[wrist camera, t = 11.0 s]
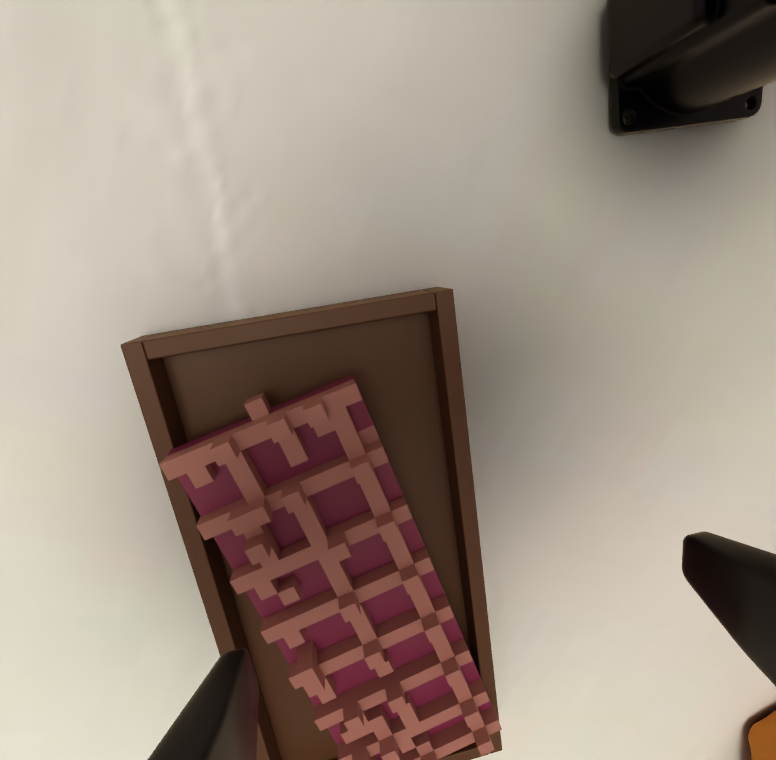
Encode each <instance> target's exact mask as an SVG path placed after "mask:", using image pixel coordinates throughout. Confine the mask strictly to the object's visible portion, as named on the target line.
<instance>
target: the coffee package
mask: <svg viewBox="0 0 776 760" xmlns="http://www.w3.org/2000/svg"><path fill="white" fill-rule="evenodd" d="M748 741H749V744H750V749H751V756H752V760H776V710H775V711H773V712H772V713H771V714H769V715H768V716H767V717H766V718H764V719H762V720H760V721H758V722H756V723H755V724H753V726H752V727H751V729H750V732H749V735H748Z"/></svg>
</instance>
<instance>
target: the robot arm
mask: <svg viewBox="0 0 776 760" xmlns="http://www.w3.org/2000/svg"><path fill="white" fill-rule="evenodd" d="M609 72H610V92H611V127H612V129H613V131H614V132H615V133H616V134H618V135H628V134H635V133H643V132H651V131H658V130H666V129H674V128H682V127H689V126H697V125H705V124H712V123H720V122H728V121H736V120H742V119H745V118H748V117H750V116H753V115H755V114H756V113H757V112H758V110H759V109H760V106H761V102H762V89H763V86H764V85H767V84H769V83H772V82H774V81H776V0H609ZM746 102H747V108H746V105H745V103H746ZM624 115H626V117H627V119H628V123H627V125H626V124H625V123H624V121H623V117H624ZM682 570H683V574H684V576H685V578H686V580H687V581H688V583H689V584H690V585H691V586H692V588H693V589H694V590H695V591H696V593H697V594H698V595H699V596H700V598H701V599H702V600H703V601H704V603H705V604H706V605H707V606H708V608H709V609H710V610H711V611H712V613H713V614H714V615H715V616H716V618H717V619H718V620H719V621H720V623H721V624H722V625H723V626H724V628H725V629H726V630H727V631H728V633H729V634H730V635H731V636H732V638H733V639H734V640H735V641H736V643H737V644H738V645H739V646H740V647H741V649H742V650H743V651H744V652H745V653H746V654H747V656H748V657H749V658H750V659H751V660H752V661H753V662H754V663H755V664H756V666H757V667H758V668H759V669H760V670H761V671H762V672H763V673H764V674H765V675H766V676H767V677H768V678H769V679H770V681H771V682H772V683H773V684H774V685H775V686H776V554H773V553H770V552H767V551H764V550H761V549H758V548H755V547H752V546H749V545H746V544H742V543H739V542H736V541H733V540H730V539H727V538H724V537H721V536H718V535H715V534H712V533H709V532H699V533H695V534H691V535H687V536H686V537H685V538H684V540H683V554H682ZM258 704H259V687H258V680H257V677H256V674H255V671H254V668H253V665H252V661H251V658H250V655H249V652H248V651H247V649H245V648H240V649H236V650H232V651H228V652H225V653H224V654H223V655H222V656H221V657H220V658H219V659H218V661H217V662H216V664H215V665H214V667H213V668H212V669H211V671H210V672H209V674H208V675H207V676H206V678H205V679H204V681H203V682H202V684H201V685H200V686H199V688H198V689H197V691H196V692H195V693H194V695H193V696H192V698H191V699H190V701H189V702H188V703H187V705H186V706H185V708H184V709H183V710H182V712H181V713H180V715H179V716H178V718H177V719H176V720H175V722H174V723H173V725H172V726H171V727H170V729H169V730H168V732H167V733H166V735H165V736H164V737H163V739H162V740H161V742H160V743H159V744H158V746H157V747H156V749H155V750H154V751H153V753H152V754H151V756H150V757H149V759H148V760H256V757H257V730H258Z"/></svg>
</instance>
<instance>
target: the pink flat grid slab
mask: <svg viewBox="0 0 776 760" xmlns="http://www.w3.org/2000/svg"><path fill="white" fill-rule="evenodd" d="M244 406H245V408H246V410H247V412H248V413H249V415H250V417H249V418H246V419H244V420H241V421H239V422H236V423H234V424H232V425H229V426H227V427H224V428H222V429H220V430H217V431H215V432H212V433H210V434H207V435H205V436H203V437H200V438H198V439H195V440H193V441H191V442H188V443H186V444H183V445H181V446H179V447H176V448H174V449H171V450H170V452H169V453H168V454H167V455H166V457H165V458H164V459H163V461H162V462H161V463H160V464H159V466H160V467H161V469H162V471H163V472H164V474H165V476H166V477H167V479H168V481H169V480H172V479H174V478H177V477H178V479H179V481H180V482H181V484H182V486H183V487H184V489H185V491H186V492H187V494H188V496H189V497H190V499H191V501H192V502H193V504H194V506H195V507H196V509H197V511H198V512H199V514H200V516H201V517H200V519H199V521H198V523H197V525H196V527H197V528H198V530H199V532H200V533H201V535H202V537H203V538H204V540H207V539H210V538H212V537H213V538H214V539H215V541H216V543H217V544H218V546H219V548H220V549H221V551H222V553H223V554H224V556H225V558H226V559H227V561H228V563H229V564H230V566H231V568H232V569H233V572H232V575H231V579H230V583H231V584H232V586H233V588H234V589H235V591H236V593H237V594H241V593H243V592H245V591H246V593H247V594H248V596H249V598H250V599H251V601H252V603H253V604H254V606H255V608H256V609H257V611H258V613H259V615H260V616H261V618H262V625H261V634H262V636H263V637H264V639H265V641H266V642H267V644H269V643H272V642H274V641H276V643H277V645H278V646H279V648H280V650H281V651H282V653H283V655H284V656H285V658H286V660H287V661H288V663H289V680H290V682H291V683H292V685H293V687H294V688H295V689H297V688H300V687H302V686H303V688H304V690H305V691H306V693H307V695H308V697H309V698H310V700H311V702H312V703H313V705H314V721H315V723H316V725H317V726H318V728H319V730H320V731H322V730H324V729H326V728H328V730H329V732H330V733H331V735H332V737H333V738H334V740H335V742H336V743H337V748H338V760H438V759H440V758H442V757H444V756H446V755H448V754H451V753H453V752H455V751H457V750H459V749H461V748H463V747H465V746H467V745H470V744H472V743H474V742H476V745H477V747H478V750H479V752H480V754H481V756H483V755H485V754H487V753H489V752H491V751H494V747H493V744H492V742H491V739H490V736H489V735H491V734H493V733H495V732H497V731H499V730H501V726H500V724H499V721H498V719H497V716H496V714H495V711H494V709H493V707H492V704H491V702H490V699H489V697H488V695H487V692H486V690H485V687H484V685H483V683H482V680H481V678H480V676H479V673H478V671H477V668H476V666H475V664H474V661H473V659H472V657H471V654H470V652H469V649H468V647H467V645H466V642H465V640H464V638H463V635H462V633H461V631H460V628H459V626H458V623H457V621H456V619H455V616H454V614H453V612H452V609H451V607H450V604H449V602H448V600H447V597H446V595H445V593H444V590H443V588H442V585H441V583H440V581H439V578H438V576H437V574H436V571H435V569H434V567H433V564H432V562H431V559H430V557H429V555H428V552H427V550H426V548H425V545H424V543H423V540H422V538H421V536H420V533H419V531H418V529H417V526H416V524H415V522H414V519H413V517H412V514H411V512H410V510H409V507H408V505H407V503H406V500H405V498H404V495H403V493H402V491H401V488H400V486H399V484H398V481H397V479H396V476H395V474H394V472H393V469H392V467H391V465H390V462H389V460H388V458H387V455H386V453H385V450H384V448H383V446H382V443H381V441H380V439H379V436H378V434H377V431H376V429H375V427H374V424H373V422H372V420H371V417H370V415H369V412H368V410H367V408H366V405H365V403H364V401H363V398H362V396H361V394H360V391H359V389H358V386H357V384H356V382H355V379H354V377H353V375H350V376H347V377H345V378H343V379H340V380H338V381H335V382H333V383H331V384H328V385H326V386H323V387H321V388H319V389H316V390H314V391H311V392H309V393H306V394H304V395H302V396H299V397H297V398H294V399H292V400H290V401H287V402H285V403H282V404H280V405H277V406H275V407H273V408H271V407H270V405H269V403H268V401H267V399H266V397H265V395H264V393H261V394H259V395H257V396H254V397H252V398H249V399H247V400H246V402H245V404H244Z"/></svg>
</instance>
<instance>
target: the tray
mask: <svg viewBox="0 0 776 760" xmlns="http://www.w3.org/2000/svg"><path fill="white" fill-rule="evenodd" d="M121 348H122V351H123V354H124V357H125V361H126V364H127V367H128V370H129V373H130V376H131V379H132V382H133V385H134V389H135V392H136V395H137V398H138V401H139V404H140V407H141V410H142V413H143V417H144V420H145V423H146V426H147V429H148V432H149V435H150V438H151V441H152V445H153V448H154V451H155V454H156V457H157V460H158V463H159V464H160V463H161V462H162V461H163V459H164V458H165V457H166V455H167V454H168V453H169V452H170V450H171V449H174V448H176V447H179V446H181V445H183V444H186V443H188V442H191V441H193V440H195V439H198V438H200V437H203V436H205V435H207V434H210V433H212V432H215V431H217V430H220V429H222V428H224V427H227V426H229V425H232V424H234V423H236V422H239V421H241V420H244V419H246V418H249V417H250V415H249V413H248V412H247V410H246V408H245V406H244V404H245V402H246V400H247V399H249V398H252V397H254V396H257V395H259V394H261V393H264V395H265V397H266V399H267V401H268V403H269V405H270V407H271V408H273V407H275V406H277V405H280V404H282V403H285V402H287V401H290V400H292V399H294V398H297V397H299V396H302V395H304V394H306V393H309V392H311V391H314V390H316V389H319V388H321V387H323V386H326V385H328V384H331V383H333V382H335V381H338V380H340V379H343V378H345V377H347V376H350V375H353V377H354V379H355V382H356V384H357V386H358V389H359V391H360V394H361V396H362V398H363V401H364V403H365V405H366V408H367V410H368V412H369V415H370V417H371V420H372V422H373V424H374V427H375V429H376V431H377V434H378V436H379V439H380V441H381V443H382V446H383V448H384V450H385V453H386V455H387V458H388V460H389V462H390V465H391V467H392V469H393V472H394V474H395V476H396V479H397V481H398V484H399V486H400V488H401V491H402V493H403V495H404V498H405V500H406V503H407V505H408V507H409V510H410V512H411V514H412V517H413V519H414V522H415V524H416V526H417V529H418V531H419V533H420V536H421V538H422V540H423V543H424V545H425V548H426V550H427V552H428V555H429V557H430V559H431V562H432V564H433V567H434V569H435V571H436V574H437V576H438V578H439V581H440V583H441V585H442V588H443V590H444V593H445V595H446V597H447V600H448V602H449V604H450V607H451V609H452V612H453V614H454V616H455V619H456V621H457V623H458V626H459V628H460V631H461V633H462V635H463V638H464V640H465V642H466V645H467V647H468V649H469V652H470V654H471V657H472V659H473V661H474V664H475V666H476V668H477V671H478V673H479V676H480V678H481V680H482V683H483V685H484V687H485V690H486V692H487V695H488V697H489V699H490V702H491V704H492V707H493V709H494V711H495V714H496V716H497V719H498V721H499V716H498V707H497V698H496V689H495V679H494V670H493V661H492V651H491V642H490V633H489V623H488V614H487V605H486V595H485V586H484V577H483V567H482V558H481V549H480V539H479V530H478V521H477V511H476V502H475V493H474V483H473V474H472V465H471V455H470V446H469V437H468V427H467V418H466V409H465V399H464V390H463V381H462V371H461V362H460V353H459V343H458V334H457V325H456V315H455V306H454V297H453V290H452V289H448V288H441V287H434V288H428V289H422V290H416V291H410V292H404V293H398V294H392V295H386V296H380V297H374V298H368V299H362V300H356V301H350V302H344V303H338V304H332V305H326V306H320V307H314V308H308V309H302V310H296V311H290V312H284V313H278V314H272V315H266V316H260V317H254V318H248V319H242V320H236V321H230V322H224V323H218V324H212V325H206V326H200V327H194V328H188V329H182V330H176V331H169V332H163V333H157V334H151V335H145V336H141V337H139V338H136V339H134V340H131V341H129V342H126V343H124V344H121ZM160 469H161V467H160ZM161 473H162V476H163V479H164V482H165V485H166V488H167V491H168V494H169V497H170V501H171V504H172V507H173V510H174V513H175V516H176V519H177V522H178V525H179V529H180V532H181V535H182V538H183V541H184V544H185V547H186V550H187V553H188V557H189V560H190V563H191V566H192V569H193V572H194V575H195V578H196V581H197V585H198V588H199V591H200V594H201V597H202V600H203V603H204V606H205V609H206V613H207V616H208V619H209V622H210V625H211V628H212V631H213V634H214V637H215V640H216V644H217V647H218V650H219V653H220V656H222V655H223V654H224V653H225V652H228V651H232V650H236V649H240V648H245V649H247V651H248V652H249V655H250V658H251V661H252V665H253V668H254V671H255V674H256V677H257V680H258V687H259V704H258V730H257V757H256V760H338V748H337V743H336V742H335V740H334V738H333V737H332V735H331V733H330V732H329V730H328V728H326V729H324V730H322V731H320V730H319V728H318V726H317V725H316V723H315V721H314V705H313V703H312V702H311V700H310V698H309V697H308V695H307V693H306V691H305V690H304V688H303V686H302V687H300V688H297V689H295V688H294V687H293V685H292V683H291V682H290V680H289V663H288V661H287V660H286V658H285V656H284V655H283V653H282V651H281V650H280V648H279V646H278V645H277V643H276V641H274V642H272V643H269V644H267V642H266V641H265V639H264V637H263V636H262V634H261V625H262V618H261V616H260V615H259V613H258V611H257V609H256V608H255V606H254V604H253V603H252V601H251V599H250V598H249V596H248V594H247V593H246V591H245V592H243V593H241V594H237V593H236V591H235V589H234V588H233V586H232V584H231V583H230V579H231V575H232V572H233V569H232V568H231V566H230V564H229V563H228V561H227V559H226V558H225V556H224V554H223V553H222V551H221V549H220V548H219V546H218V544H217V543H216V541H215V539H214V538H213V537H212V538H210V539H207V540H204V538H203V537H202V535H201V533H200V532H199V530H198V528H197V527H196V525H197V523H198V521H199V519H200V517H201V516H200V514H199V512H198V511H197V509H196V507H195V506H194V504H193V502H192V501H191V499H190V497H189V496H188V494H187V492H186V491H185V489H184V487H183V486H182V484H181V482H180V481H179V479H178V477H177V478H174V479H172V480H169V481H168V479H167V477H166V476H165V474H164V472H163V471H162V469H161ZM489 736H490V739H491V742H492V744H493V747H494V751H491V752H489V753H490V754H491V753H494V752H497V751H501V750H502V744H501V735H500V730H499V731H497V732H495V733H493V734H491V735H489ZM489 753H487V754H485V755H488V754H489ZM483 756H484V755H483ZM478 757H481V754H480V752H479V750H478V747H477V745H476V742H474V743H472V744H470V745H467V746H465V747H463V748H461V749H459V750H457V751H455V752H453V753H451V754H448V755H446V756H444V757H442V758H440V759H438V760H471V759H474V758H478Z"/></svg>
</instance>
